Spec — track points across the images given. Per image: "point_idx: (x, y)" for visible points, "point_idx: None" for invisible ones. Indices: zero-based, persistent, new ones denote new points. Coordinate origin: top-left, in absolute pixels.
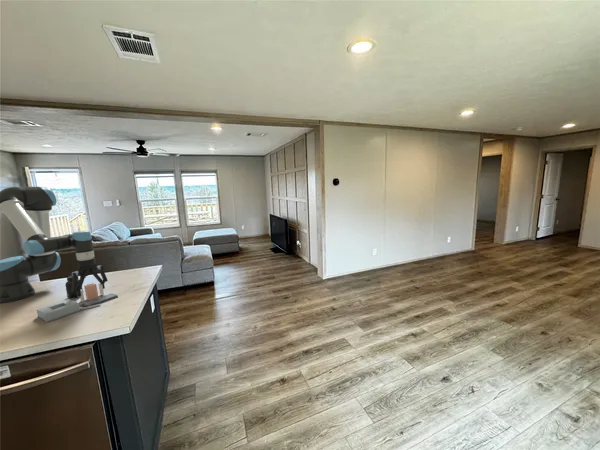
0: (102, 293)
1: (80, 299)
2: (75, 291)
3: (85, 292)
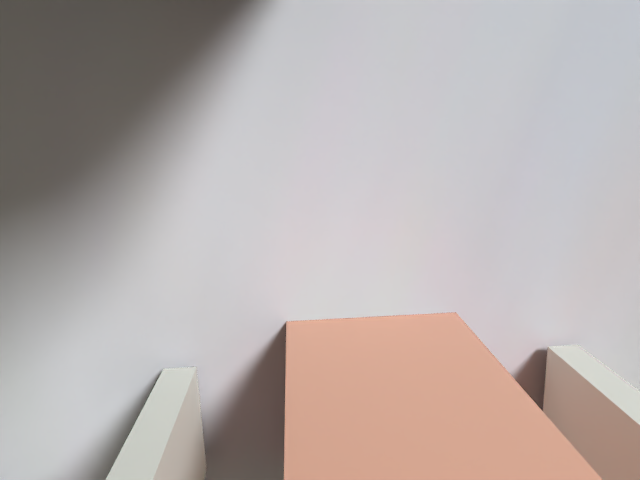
0: None
1: (152, 394)
2: None
3: (286, 429)
